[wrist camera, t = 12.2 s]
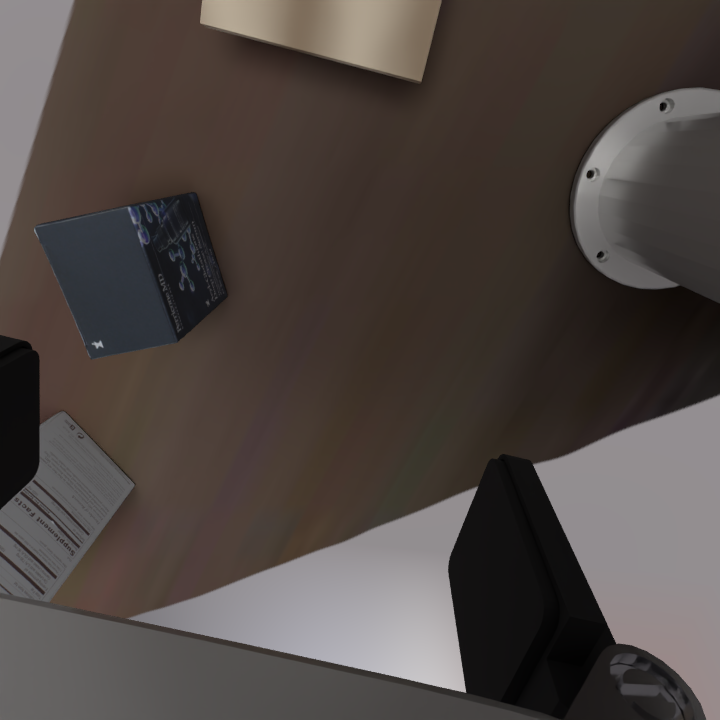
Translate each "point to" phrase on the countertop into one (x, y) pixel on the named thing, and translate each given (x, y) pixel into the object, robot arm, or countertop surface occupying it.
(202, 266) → the box
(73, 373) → the countertop surface
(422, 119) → the countertop surface
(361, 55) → the lid
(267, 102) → the countertop surface
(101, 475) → the supplement box
